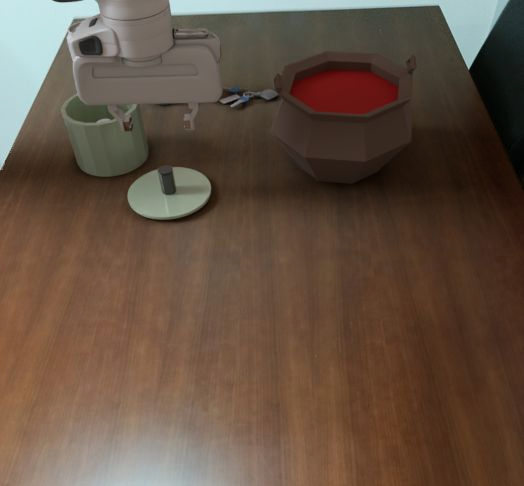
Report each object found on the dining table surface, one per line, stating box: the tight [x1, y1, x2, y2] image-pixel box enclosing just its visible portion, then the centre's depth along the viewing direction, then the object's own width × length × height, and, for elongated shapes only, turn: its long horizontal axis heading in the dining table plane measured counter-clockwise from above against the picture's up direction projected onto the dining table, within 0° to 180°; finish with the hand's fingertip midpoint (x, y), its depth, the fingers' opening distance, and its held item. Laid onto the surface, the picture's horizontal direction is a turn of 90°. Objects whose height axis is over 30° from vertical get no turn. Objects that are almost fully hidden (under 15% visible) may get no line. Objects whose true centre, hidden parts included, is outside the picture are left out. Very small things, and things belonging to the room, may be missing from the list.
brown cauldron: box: [270, 50, 418, 185], centre depth 94 cm, size 24×24×16 cm
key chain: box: [218, 86, 279, 108], centre depth 114 cm, size 14×8×1 cm, turn 80°
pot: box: [60, 92, 150, 178], centre depth 100 cm, size 13×13×10 cm
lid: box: [126, 164, 212, 221], centre depth 93 cm, size 14×14×5 cm
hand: (159, 128), depth 86 cm, fingers open, 8 cm apart
